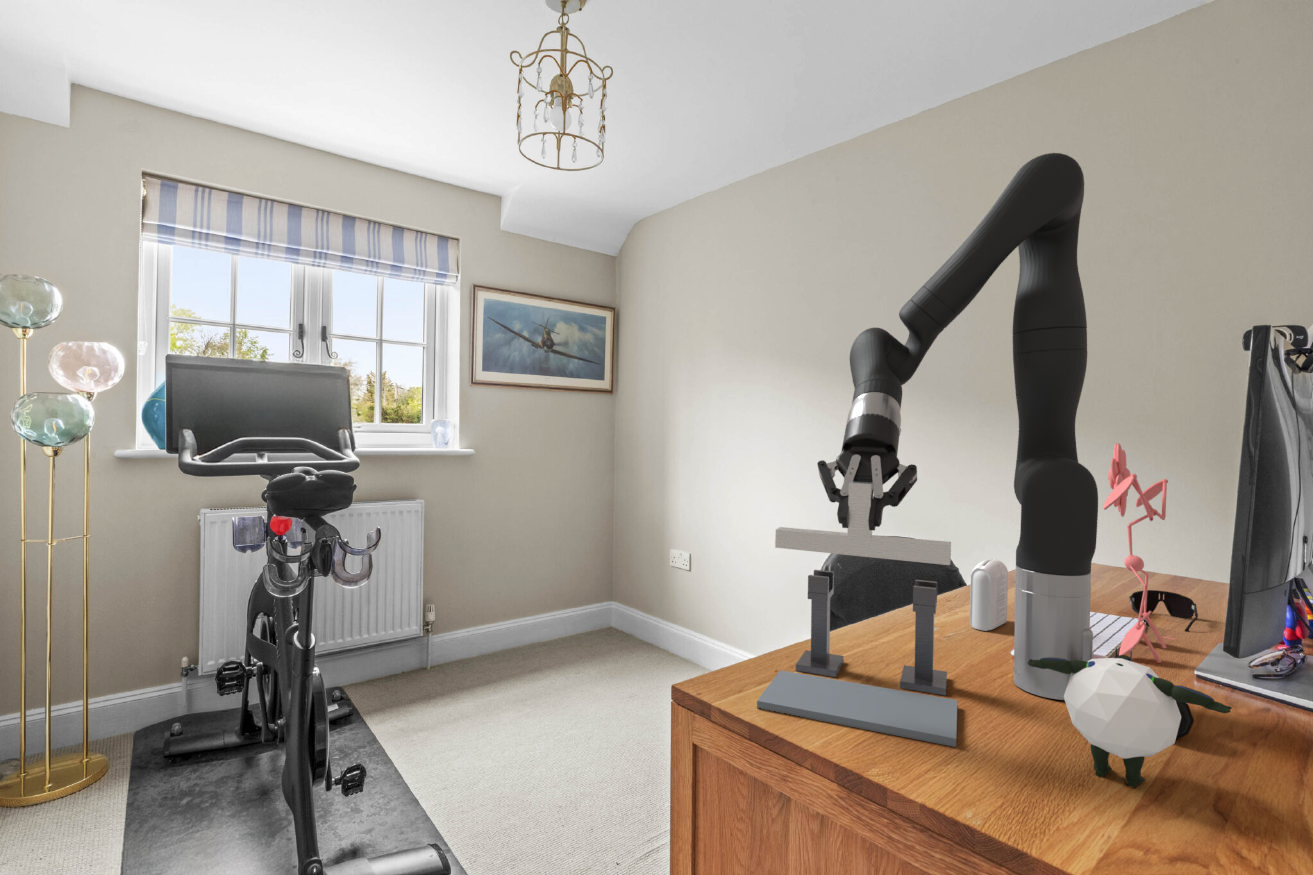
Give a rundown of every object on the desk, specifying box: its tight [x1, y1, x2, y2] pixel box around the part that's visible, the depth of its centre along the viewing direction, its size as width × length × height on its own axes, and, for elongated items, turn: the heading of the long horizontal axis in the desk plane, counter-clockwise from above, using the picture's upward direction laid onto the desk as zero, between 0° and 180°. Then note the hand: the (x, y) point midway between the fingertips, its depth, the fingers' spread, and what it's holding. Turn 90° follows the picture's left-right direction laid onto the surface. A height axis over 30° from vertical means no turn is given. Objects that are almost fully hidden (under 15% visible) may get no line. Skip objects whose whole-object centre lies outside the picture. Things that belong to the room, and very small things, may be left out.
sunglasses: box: [1129, 589, 1199, 633], centre depth 128 cm, size 10×12×5 cm
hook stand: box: [795, 569, 948, 696], centre depth 99 cm, size 21×7×14 cm, turn 65°
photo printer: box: [969, 558, 1009, 632], centre depth 124 cm, size 10×4×12 cm, turn 134°
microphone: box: [1176, 701, 1195, 739], centre depth 86 cm, size 6×6×20 cm
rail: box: [774, 481, 952, 566], centre depth 87 cm, size 22×2×10 cm, turn 65°
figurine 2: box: [1028, 647, 1233, 789], centre depth 71 cm, size 18×10×13 cm, turn 44°
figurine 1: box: [1103, 443, 1176, 663], centre depth 113 cm, size 15×26×35 cm, turn 138°
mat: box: [756, 670, 958, 748], centre depth 87 cm, size 24×12×1 cm, turn 65°
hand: (858, 525), depth 85 cm, fingers closed on rail, 2 cm apart
